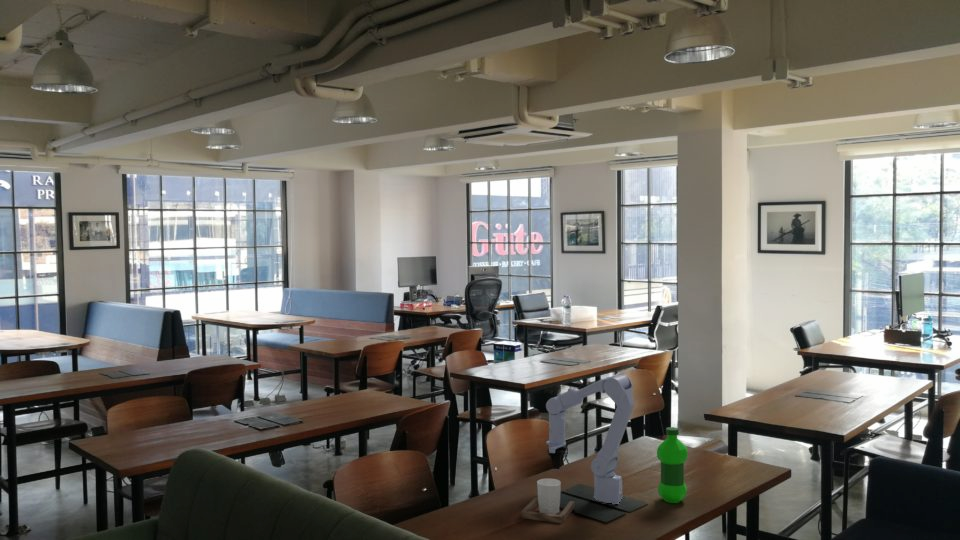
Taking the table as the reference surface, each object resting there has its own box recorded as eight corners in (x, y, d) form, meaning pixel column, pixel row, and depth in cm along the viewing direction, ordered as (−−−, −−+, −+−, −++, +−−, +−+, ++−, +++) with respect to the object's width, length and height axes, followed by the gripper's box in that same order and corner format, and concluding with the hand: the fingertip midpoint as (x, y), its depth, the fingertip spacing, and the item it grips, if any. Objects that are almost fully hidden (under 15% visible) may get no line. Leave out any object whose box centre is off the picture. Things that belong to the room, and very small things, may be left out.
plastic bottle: (688, 497, 270) (688, 426, 269) (686, 507, 260) (686, 433, 259) (659, 494, 274) (659, 424, 273) (655, 504, 264) (655, 431, 263)
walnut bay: (574, 507, 262) (574, 501, 262) (562, 523, 247) (562, 517, 247) (535, 502, 267) (534, 496, 267) (520, 518, 252) (520, 511, 252)
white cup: (560, 516, 253) (560, 486, 253) (536, 515, 255) (535, 485, 254) (561, 508, 261) (561, 478, 261) (538, 507, 262) (538, 477, 262)
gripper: (552, 424, 286) (552, 461, 287) (540, 434, 273) (540, 472, 273) (570, 426, 284) (570, 462, 284) (559, 435, 270) (560, 474, 271)
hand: (557, 467), depth 278 cm, fingers closed
